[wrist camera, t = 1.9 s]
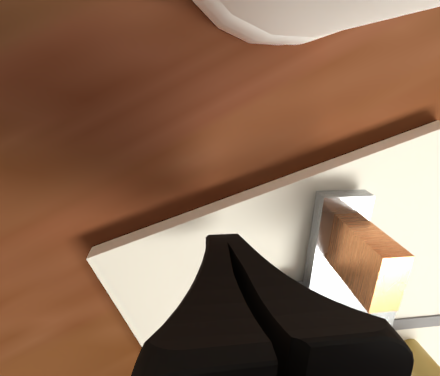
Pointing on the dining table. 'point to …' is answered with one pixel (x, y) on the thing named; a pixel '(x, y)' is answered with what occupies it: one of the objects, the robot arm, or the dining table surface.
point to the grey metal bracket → (354, 255)
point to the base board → (295, 237)
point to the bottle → (301, 17)
